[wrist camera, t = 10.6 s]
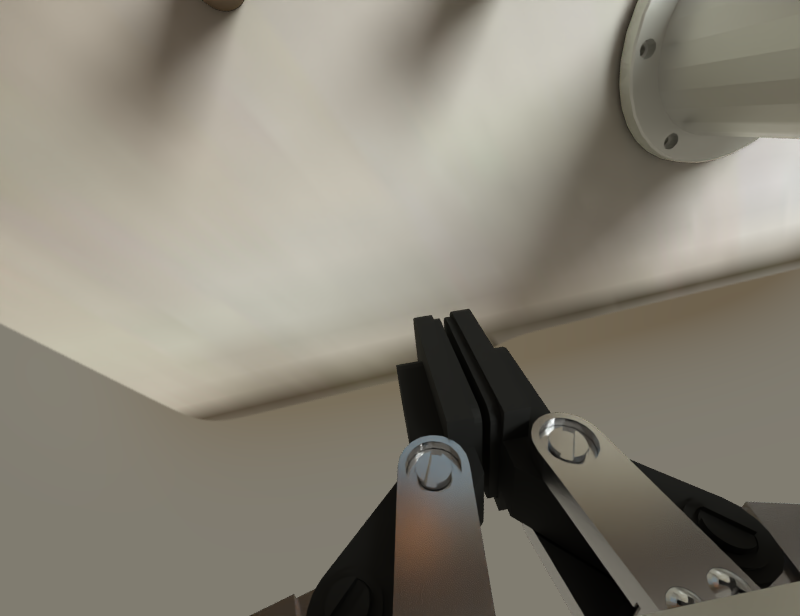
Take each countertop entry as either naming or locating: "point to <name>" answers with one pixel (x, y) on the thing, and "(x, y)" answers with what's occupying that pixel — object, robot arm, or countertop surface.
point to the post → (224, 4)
